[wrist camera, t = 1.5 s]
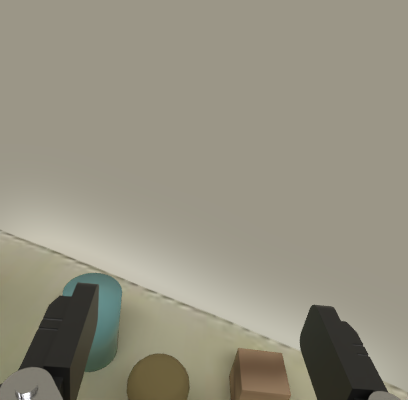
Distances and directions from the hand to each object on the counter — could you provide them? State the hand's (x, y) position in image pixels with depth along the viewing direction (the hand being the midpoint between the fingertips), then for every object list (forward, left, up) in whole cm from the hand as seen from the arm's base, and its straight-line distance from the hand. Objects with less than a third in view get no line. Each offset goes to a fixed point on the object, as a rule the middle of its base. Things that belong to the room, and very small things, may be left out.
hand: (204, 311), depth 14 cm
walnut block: (+17, +8, -28) cm, 34 cm away
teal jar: (+2, +21, -28) cm, 35 cm away
